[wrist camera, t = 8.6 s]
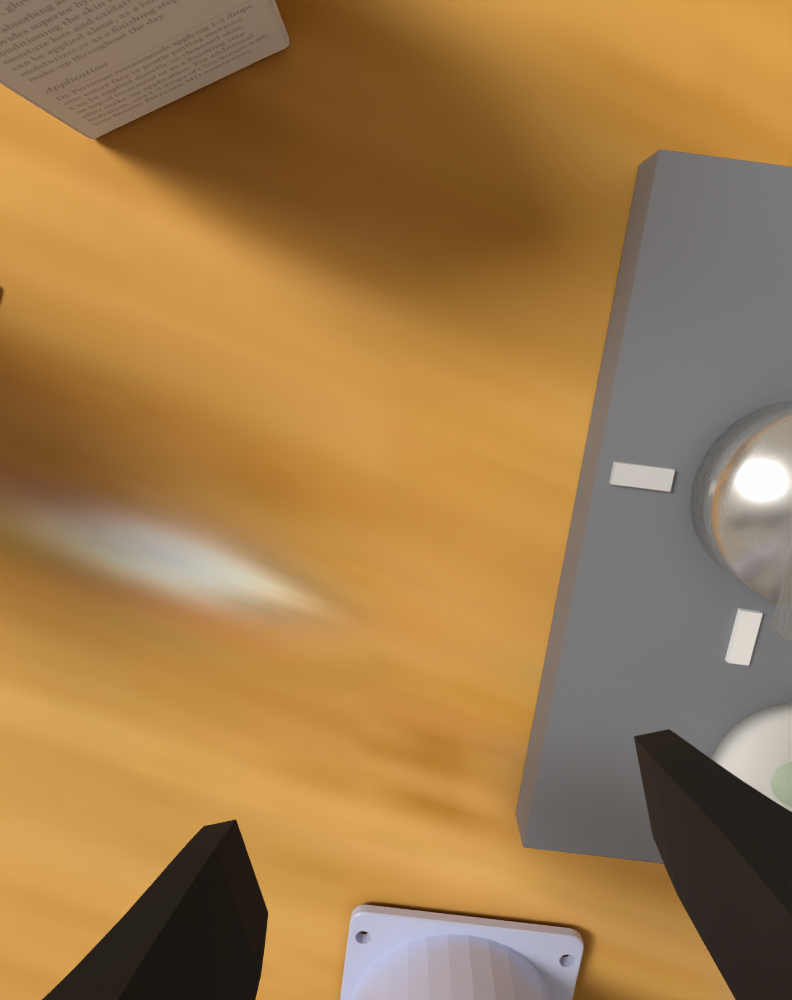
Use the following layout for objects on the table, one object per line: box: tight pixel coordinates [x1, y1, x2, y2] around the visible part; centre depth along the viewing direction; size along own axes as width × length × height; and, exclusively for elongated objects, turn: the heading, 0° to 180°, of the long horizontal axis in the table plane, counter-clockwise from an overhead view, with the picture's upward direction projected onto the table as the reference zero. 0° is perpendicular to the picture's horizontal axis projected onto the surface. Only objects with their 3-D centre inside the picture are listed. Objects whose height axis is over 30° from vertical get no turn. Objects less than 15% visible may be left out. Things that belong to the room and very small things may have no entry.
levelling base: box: [516, 149, 792, 864], centre depth 19 cm, size 20×10×3 cm, turn 173°
